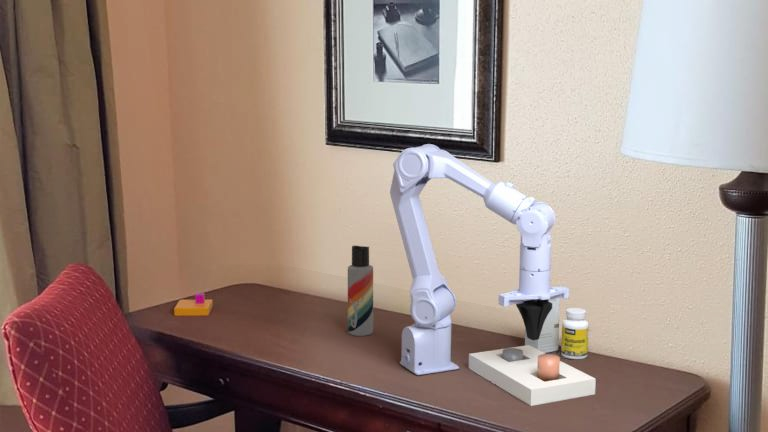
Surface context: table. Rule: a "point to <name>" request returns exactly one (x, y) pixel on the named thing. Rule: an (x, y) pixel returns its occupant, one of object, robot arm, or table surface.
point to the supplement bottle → (575, 334)
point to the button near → (548, 367)
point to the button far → (512, 354)
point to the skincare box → (548, 331)
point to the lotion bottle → (360, 293)
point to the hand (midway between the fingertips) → (533, 338)
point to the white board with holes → (531, 377)
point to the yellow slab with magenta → (194, 306)
